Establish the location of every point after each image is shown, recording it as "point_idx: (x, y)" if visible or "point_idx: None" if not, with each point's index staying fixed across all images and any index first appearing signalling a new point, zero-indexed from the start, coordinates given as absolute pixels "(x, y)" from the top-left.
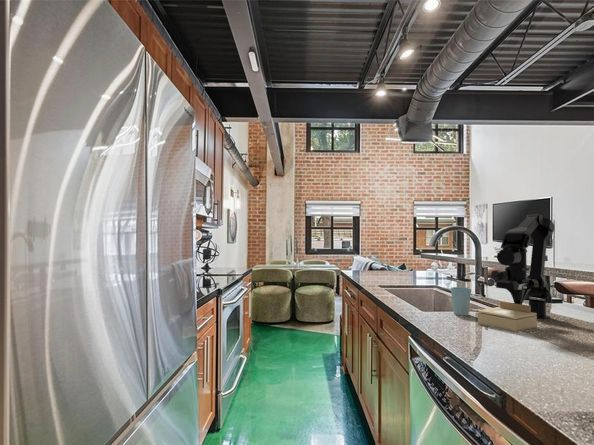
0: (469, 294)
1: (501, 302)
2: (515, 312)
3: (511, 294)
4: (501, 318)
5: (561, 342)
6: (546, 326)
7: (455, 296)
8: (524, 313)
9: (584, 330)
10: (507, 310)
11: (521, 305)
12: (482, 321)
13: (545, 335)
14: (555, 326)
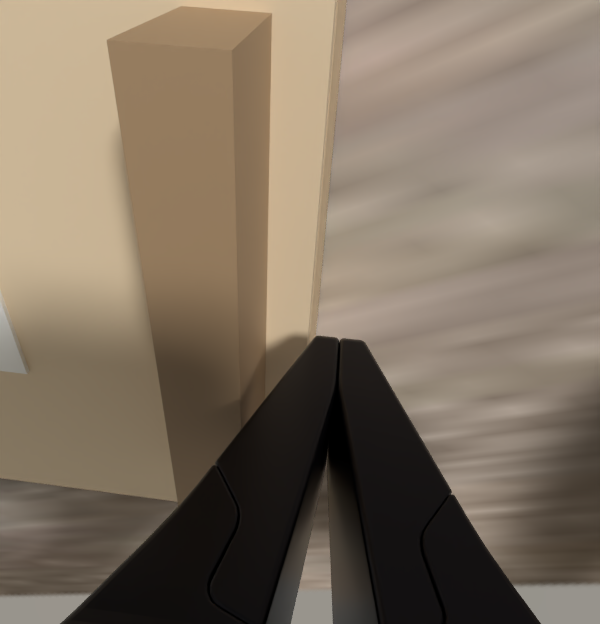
0: None
1: (122, 90)
2: (47, 375)
3: (118, 574)
4: None
5: (21, 533)
6: (444, 420)
7: None
8: (113, 451)
9: (521, 573)
10: (63, 249)
11: (182, 489)
12: None
13: None
14: (516, 460)
